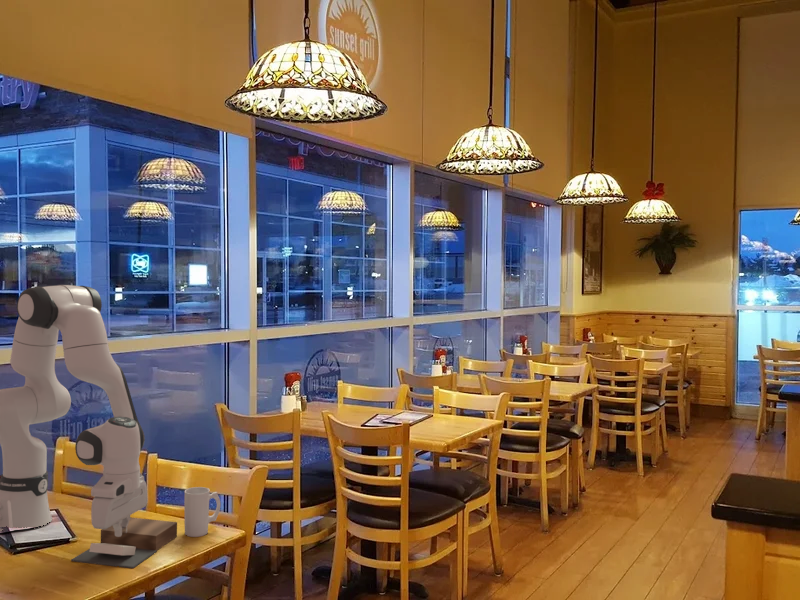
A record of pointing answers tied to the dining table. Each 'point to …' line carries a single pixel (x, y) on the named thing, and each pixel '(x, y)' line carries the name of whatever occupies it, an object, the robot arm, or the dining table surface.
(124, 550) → the grey flat block
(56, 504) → the dining table surface
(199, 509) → the mug
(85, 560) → the bar mat
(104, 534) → the riser board
